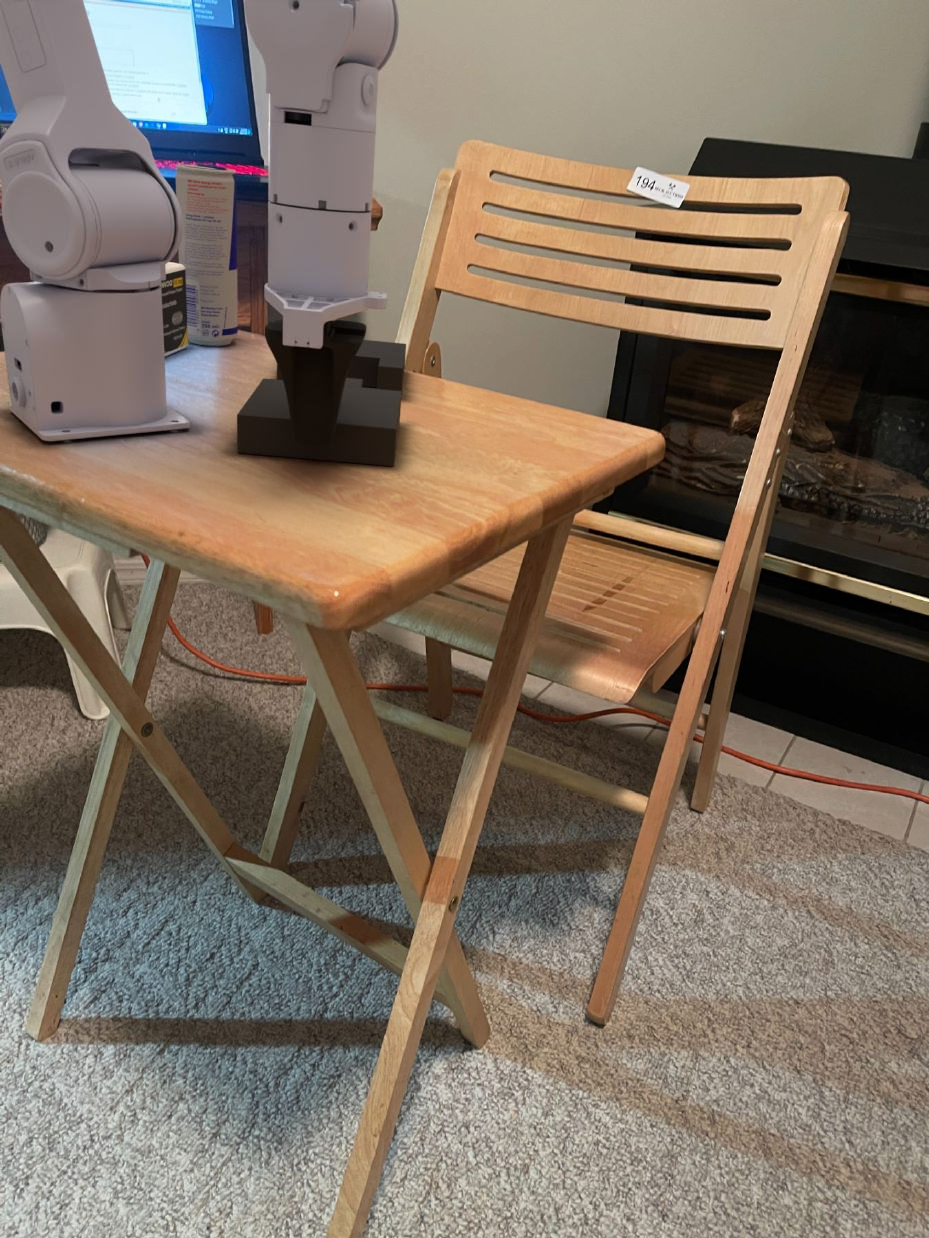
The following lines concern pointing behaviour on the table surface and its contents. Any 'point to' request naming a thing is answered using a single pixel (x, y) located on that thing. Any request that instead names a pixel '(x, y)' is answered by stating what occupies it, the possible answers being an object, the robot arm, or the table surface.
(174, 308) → the black printed box
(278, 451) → the loose pad
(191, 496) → the table surface
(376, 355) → the pad
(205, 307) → the beverage can
